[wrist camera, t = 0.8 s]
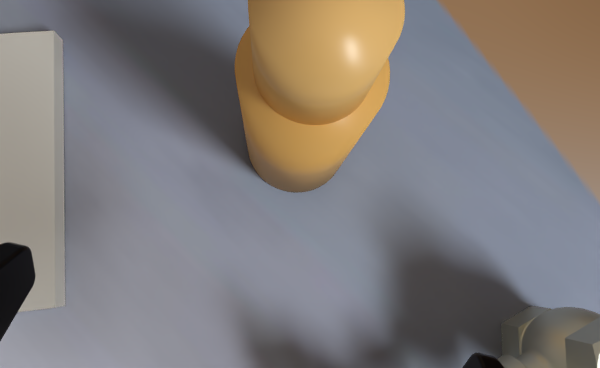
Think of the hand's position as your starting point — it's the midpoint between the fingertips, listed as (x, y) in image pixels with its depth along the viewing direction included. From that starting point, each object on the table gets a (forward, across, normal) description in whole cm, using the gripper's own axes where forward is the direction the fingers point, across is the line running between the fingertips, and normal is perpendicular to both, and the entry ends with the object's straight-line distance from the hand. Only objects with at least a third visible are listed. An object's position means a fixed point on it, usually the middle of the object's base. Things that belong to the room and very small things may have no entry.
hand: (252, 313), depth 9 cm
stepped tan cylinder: (+15, 0, +4) cm, 15 cm away
